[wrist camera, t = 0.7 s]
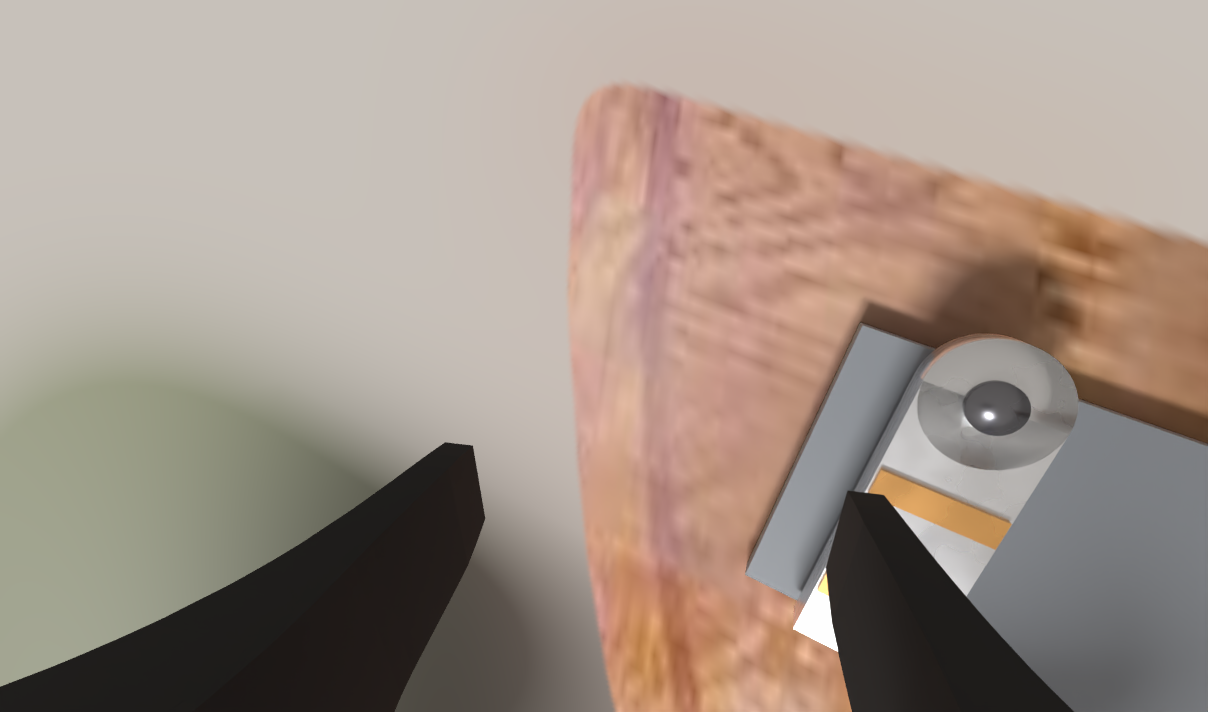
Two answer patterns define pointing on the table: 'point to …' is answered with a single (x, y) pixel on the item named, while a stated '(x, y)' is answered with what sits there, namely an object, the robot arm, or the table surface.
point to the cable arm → (961, 456)
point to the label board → (1039, 540)
